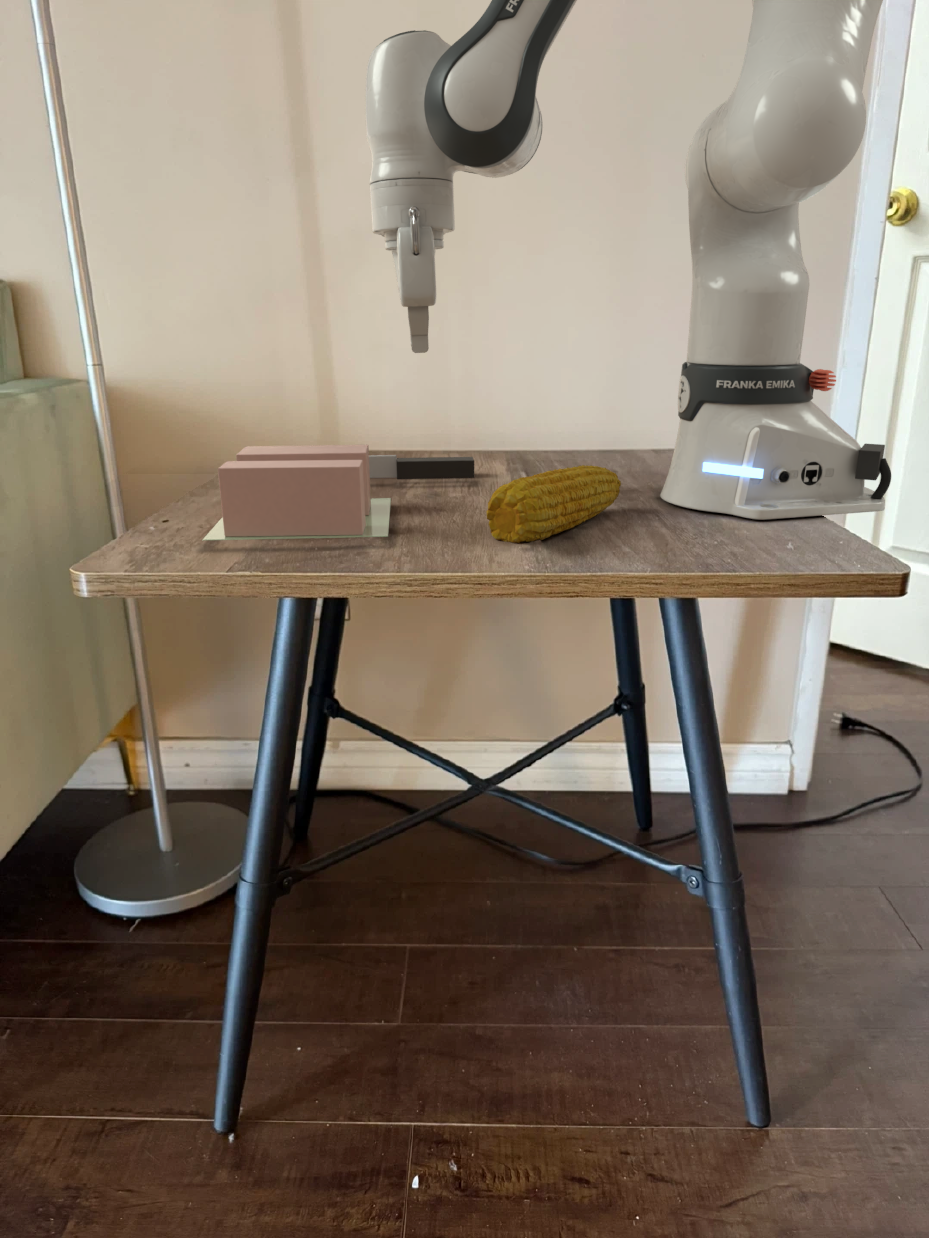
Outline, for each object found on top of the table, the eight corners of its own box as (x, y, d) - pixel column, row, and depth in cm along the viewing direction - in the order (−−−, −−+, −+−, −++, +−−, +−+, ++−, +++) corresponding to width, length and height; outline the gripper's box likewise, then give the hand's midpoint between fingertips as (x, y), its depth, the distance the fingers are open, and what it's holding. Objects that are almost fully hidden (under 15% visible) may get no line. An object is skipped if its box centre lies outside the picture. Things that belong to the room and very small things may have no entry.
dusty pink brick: (365, 525, 78) (362, 459, 76) (362, 535, 75) (359, 466, 73) (233, 527, 78) (226, 461, 76) (224, 537, 75) (217, 468, 73)
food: (534, 559, 71) (535, 488, 69) (476, 549, 74) (476, 481, 72) (630, 510, 88) (633, 451, 86) (580, 504, 91) (582, 447, 89)
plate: (391, 507, 90) (391, 497, 90) (388, 547, 75) (388, 536, 75) (237, 510, 89) (236, 500, 89) (202, 551, 74) (201, 540, 74)
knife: (472, 481, 103) (472, 452, 102) (474, 486, 100) (474, 456, 99) (279, 485, 102) (276, 455, 100) (275, 489, 99) (273, 459, 98)
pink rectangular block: (371, 504, 87) (368, 444, 85) (369, 515, 82) (366, 452, 80) (250, 506, 86) (245, 446, 84) (241, 518, 81) (235, 454, 79)
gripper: (447, 202, 82) (452, 354, 87) (438, 223, 101) (443, 346, 106) (380, 204, 82) (389, 356, 86) (385, 224, 101) (392, 348, 105)
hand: (419, 350), depth 96 cm, fingers open, 8 cm apart
